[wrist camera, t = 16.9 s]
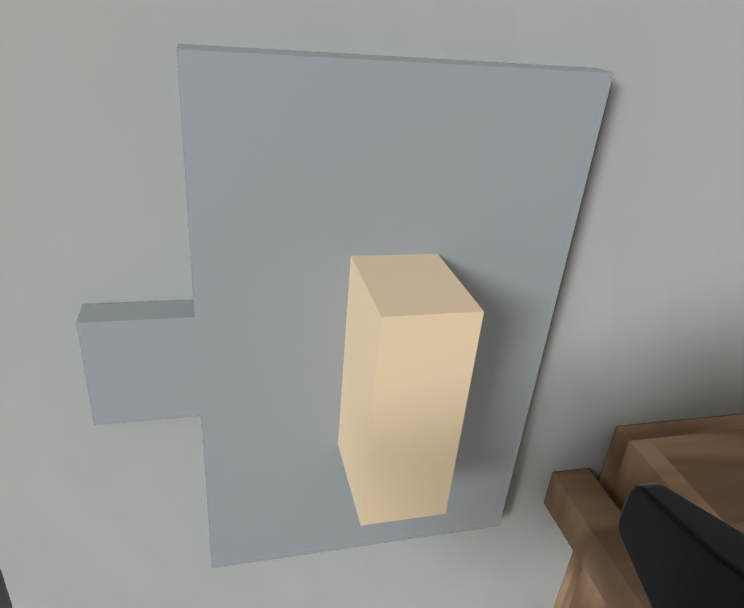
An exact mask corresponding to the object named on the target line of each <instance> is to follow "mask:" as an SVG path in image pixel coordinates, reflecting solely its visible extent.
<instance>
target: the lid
mask: <svg viewBox="0 0 744 608" xmlns="http://www.w3.org/2000/svg"><path fill="white" fill-rule="evenodd" d="M177 63H178V78H179V93H180V107H181V122H182V137H183V151H184V166H185V181H186V195H187V210H188V225H189V239H190V254H191V269H192V284H193V298H194V300H173V301H150V302H126V303H103V304H83V305H82V308H81V311H80V313H79V316H78V319H77V322H76V325H77V330H78V336H79V342H80V347H81V353H82V359H83V365H84V370H85V376H86V382H87V387H88V393H89V399H90V405H91V410H92V416H93V422H94V425H101V424H112V423H124V422H135V421H146V420H158V419H169V418H181V417H192V416H202V431H203V445H204V460H205V475H206V489H207V504H208V519H209V533H210V548H211V563H212V568H217V567H224V566H230V565H237V564H244V563H251V562H257V561H264V560H271V559H278V558H284V557H291V556H298V555H305V554H311V553H318V552H325V551H332V550H338V549H345V548H352V547H359V546H365V545H372V544H379V543H386V542H392V541H399V540H406V539H413V538H419V537H426V536H433V535H440V534H446V533H453V532H460V531H467V530H473V529H480V528H487V527H494V526H499V525H500V521H501V517H502V513H503V509H504V505H505V502H506V498H507V494H508V490H509V486H510V482H511V478H512V474H513V470H514V466H515V462H516V458H517V454H518V450H519V446H520V442H521V438H522V434H523V430H524V426H525V422H526V418H527V414H528V410H529V406H530V402H531V398H532V395H533V391H534V387H535V383H536V379H537V375H538V371H539V367H540V363H541V359H542V355H543V351H544V347H545V343H546V339H547V335H548V331H549V327H550V323H551V319H552V315H553V311H554V307H555V303H556V299H557V295H558V292H559V288H560V284H561V280H562V276H563V272H564V268H565V264H566V260H567V256H568V252H569V248H570V244H571V240H572V236H573V232H574V228H575V224H576V220H577V216H578V212H579V208H580V204H581V200H582V196H583V192H584V189H585V185H586V181H587V177H588V173H589V169H590V165H591V161H592V157H593V153H594V149H595V145H596V141H597V137H598V133H599V129H600V125H601V121H602V117H603V113H604V109H605V105H606V101H607V97H608V93H609V89H610V85H611V82H612V78H613V74H614V73H612V72H608V71H604V70H601V69H597V68H585V67H567V66H550V65H533V64H516V63H498V62H481V61H464V60H447V59H429V58H412V57H395V56H378V55H360V54H343V53H326V52H309V51H291V50H274V49H257V48H240V47H222V46H205V45H188V44H178V46H177Z"/></svg>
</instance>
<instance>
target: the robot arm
mask: <svg viewBox="0 0 744 608" xmlns="http://www.w3.org/2000/svg"><path fill="white" fill-rule="evenodd" d="M618 531H619V535H620V538H621V540H622V542H623V545H624V547H625V549H626V551H627V554H628V556H629V558H630V560H631V563H632V565H633V567H634V569H635V572H636V574H637V576H638V578H639V581H640V583H641V585H642V587H643V590H644V592H645V594H646V596H647V599H648V601H649V603H650V605H651V608H744V533H742V532H741V531H739V530H737V529H736V528H734V527H732V526H731V525H729V524H727V523H726V522H724V521H722V520H721V519H719V518H717V517H716V516H714V515H712V514H711V513H709V512H707V511H706V510H704V509H702V508H701V507H699V506H697V505H696V504H694V503H692V502H691V501H689V500H687V499H686V498H684V497H682V496H681V495H679V494H677V493H675V492H674V491H672V490H670V489H669V488H667V487H665V486H664V485H662V484H659V483H647V484H639V485H635V486H634V487H632V488H631V490H630V491H629V494H628V497H627V499H626V502H625V504H624V507H623V509H622V512H621V515H620V517H619V520H618ZM0 608H12V604H11V600H10V597H9V594H8V591H7V588H6V584H5V581H4V578H3V575H2V572H1V570H0Z"/></svg>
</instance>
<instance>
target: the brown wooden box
mask: <svg viewBox="0 0 744 608" xmlns="http://www.w3.org/2000/svg"><path fill="white" fill-rule="evenodd" d="M647 483H659V484H662V485H664V486H665V487H667V488H669V489H670V490H672V491H674V492H675V493H677V494H679V495H681V496H682V497H684V498H686V499H687V500H689V501H691V502H692V503H694V504H696V505H697V506H699V507H701V508H702V509H704V510H706V511H707V512H709V513H711V514H712V515H714V516H716V517H717V518H719V519H721V520H722V521H724V522H726V523H727V524H729V525H731V526H732V527H734V528H736V529H737V530H739V531H741V532H742V533H744V414H739V415H729V416H719V417H709V418H698V419H688V420H678V421H668V422H657V423H647V424H637V425H627V426H617V428H616V430H615V433H614V436H613V439H612V442H611V445H610V448H609V451H608V453H607V456H606V459H605V462H604V465H603V468H602V471H601V474H600V476H599V479H598V481H597V479H596V478H595V477H594V475H593V474H592V473H591V471H590V470H589V468H586V469H578V470H569V471H560V472H553V474H552V477H551V481H550V484H549V487H548V491H547V494H546V497H545V501H544V504H545V505H546V507H547V509H548V510H549V512H550V513H551V515H552V517H553V518H554V520H555V522H556V523H557V525H558V526H559V528H560V530H561V531H562V533H563V535H564V536H565V538H566V539H567V541H568V543H569V544H570V546H571V548H572V549H573V554H572V557H571V560H570V563H569V566H568V569H567V571H566V574H565V577H564V580H563V583H562V586H561V589H560V592H559V594H558V597H557V600H556V603H555V606H554V608H651V605H650V603H649V601H648V599H647V596H646V594H645V592H644V590H643V587H642V585H641V583H640V581H639V578H638V576H637V574H636V572H635V569H634V567H633V565H632V563H631V560H630V558H629V556H628V554H627V551H626V549H625V547H624V545H623V542H622V540H621V538H620V535H619V531H618V520H619V517H620V515H621V512H622V509H623V507H624V504H625V502H626V499H627V497H628V494H629V491H630V490H631V488H632V487H634V486H635V485H639V484H647Z"/></svg>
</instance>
